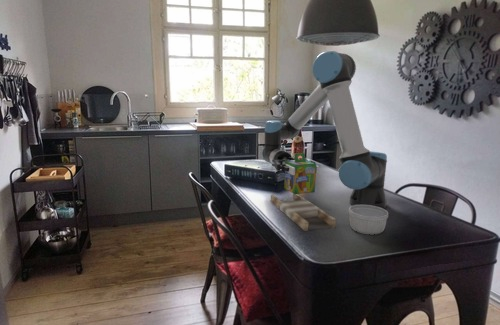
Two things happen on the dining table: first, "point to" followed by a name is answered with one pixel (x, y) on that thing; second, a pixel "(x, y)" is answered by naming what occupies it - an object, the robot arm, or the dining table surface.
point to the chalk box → (300, 176)
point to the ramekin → (367, 219)
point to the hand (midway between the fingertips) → (306, 170)
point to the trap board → (304, 213)
